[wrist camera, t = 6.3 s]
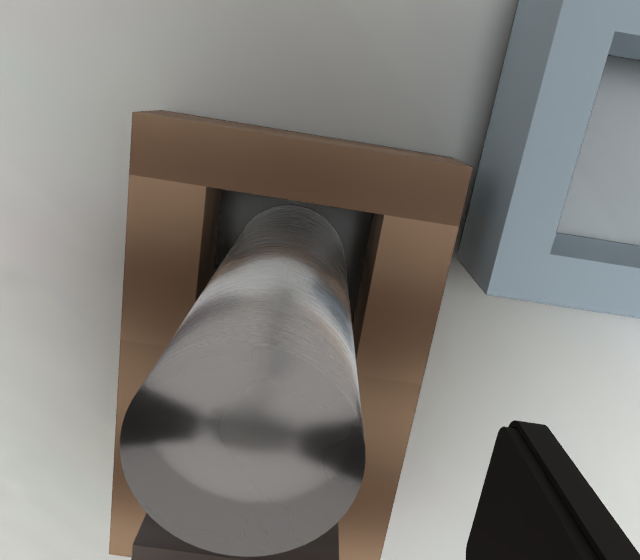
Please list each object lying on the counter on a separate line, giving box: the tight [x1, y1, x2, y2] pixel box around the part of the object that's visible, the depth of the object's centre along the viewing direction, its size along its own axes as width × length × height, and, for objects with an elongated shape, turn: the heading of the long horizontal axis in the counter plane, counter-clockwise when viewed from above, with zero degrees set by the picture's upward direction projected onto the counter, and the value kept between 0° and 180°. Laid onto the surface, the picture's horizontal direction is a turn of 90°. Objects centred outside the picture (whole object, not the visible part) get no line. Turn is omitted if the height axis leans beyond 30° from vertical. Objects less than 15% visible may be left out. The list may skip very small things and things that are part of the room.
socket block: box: [109, 110, 473, 560], centre depth 17 cm, size 16×10×9 cm, turn 171°
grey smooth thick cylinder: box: [120, 205, 366, 557], centre depth 15 cm, size 4×4×12 cm
